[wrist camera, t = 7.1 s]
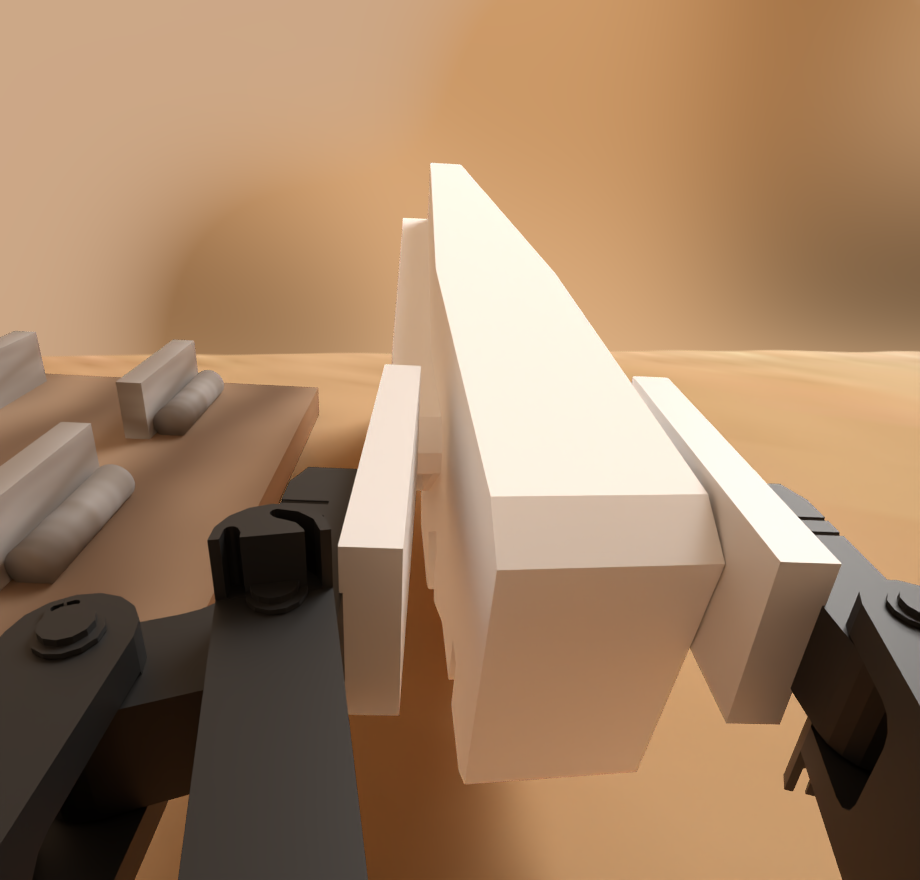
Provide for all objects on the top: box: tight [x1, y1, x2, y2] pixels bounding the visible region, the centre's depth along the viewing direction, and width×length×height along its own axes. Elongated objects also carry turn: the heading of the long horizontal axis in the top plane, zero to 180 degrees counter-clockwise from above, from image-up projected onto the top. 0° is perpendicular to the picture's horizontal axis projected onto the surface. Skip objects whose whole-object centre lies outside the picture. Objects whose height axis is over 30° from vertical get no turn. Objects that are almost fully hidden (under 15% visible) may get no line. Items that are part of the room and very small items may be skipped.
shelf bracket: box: [392, 163, 725, 784], centre depth 22 cm, size 6×25×13 cm, turn 7°
